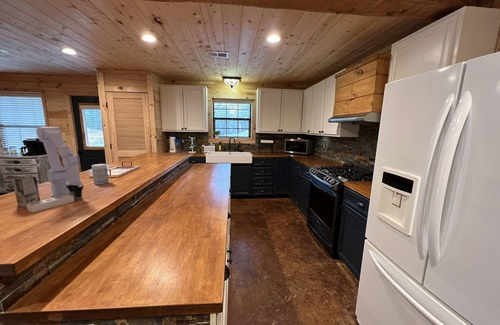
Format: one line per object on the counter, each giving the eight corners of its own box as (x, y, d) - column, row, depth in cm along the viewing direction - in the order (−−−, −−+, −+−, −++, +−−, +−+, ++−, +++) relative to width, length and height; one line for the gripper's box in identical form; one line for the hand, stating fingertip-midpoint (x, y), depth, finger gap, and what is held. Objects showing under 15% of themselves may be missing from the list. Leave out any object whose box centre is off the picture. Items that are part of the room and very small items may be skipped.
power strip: (32, 212, 106) (31, 205, 105) (27, 210, 109) (26, 203, 108) (74, 201, 122) (73, 195, 121) (69, 199, 125) (68, 193, 124)
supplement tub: (109, 183, 161) (107, 164, 158) (94, 185, 154) (92, 166, 152) (107, 180, 168) (105, 163, 165) (93, 182, 161) (90, 164, 159)
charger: (69, 201, 121) (68, 193, 120) (66, 200, 123) (64, 192, 122) (82, 198, 127) (81, 190, 126) (78, 197, 128) (77, 189, 128)
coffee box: (41, 203, 118) (36, 176, 115) (26, 207, 112) (21, 179, 109) (32, 201, 121) (27, 175, 118) (17, 205, 115) (11, 177, 112)
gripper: (58, 175, 123) (62, 196, 125) (71, 178, 116) (74, 200, 119) (73, 172, 129) (76, 193, 131) (85, 175, 123) (88, 196, 125)
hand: (76, 196), depth 125 cm, fingers closed on charger, 4 cm apart
